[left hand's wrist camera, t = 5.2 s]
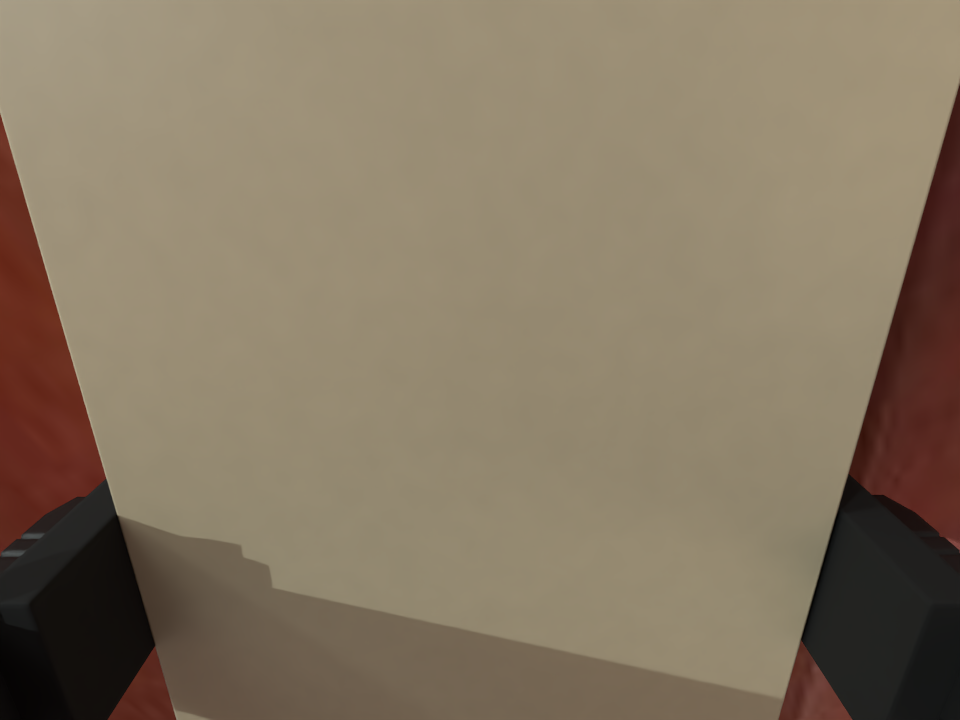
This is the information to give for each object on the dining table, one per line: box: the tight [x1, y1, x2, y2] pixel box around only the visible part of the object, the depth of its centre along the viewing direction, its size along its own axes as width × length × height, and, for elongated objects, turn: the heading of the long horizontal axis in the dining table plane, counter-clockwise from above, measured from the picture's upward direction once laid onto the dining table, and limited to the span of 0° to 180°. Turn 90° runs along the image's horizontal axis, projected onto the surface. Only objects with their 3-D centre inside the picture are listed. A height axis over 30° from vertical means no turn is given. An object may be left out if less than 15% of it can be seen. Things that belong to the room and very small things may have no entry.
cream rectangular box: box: [0, 0, 960, 720], centre depth 11 cm, size 17×11×8 cm, turn 0°
